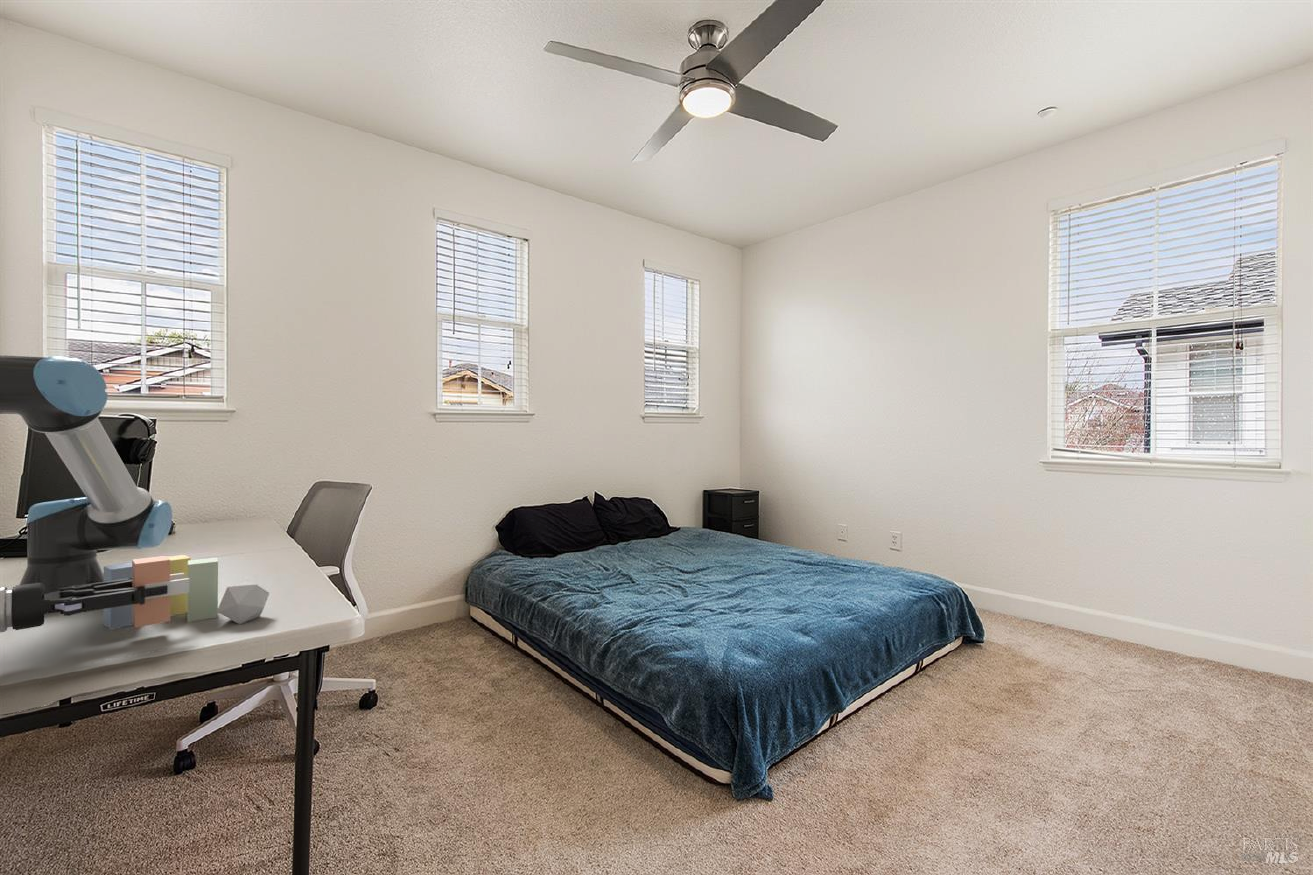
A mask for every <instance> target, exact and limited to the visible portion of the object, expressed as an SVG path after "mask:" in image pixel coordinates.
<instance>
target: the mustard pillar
mask: <svg viewBox="0 0 1313 875" xmlns="http://www.w3.org/2000/svg"><path fill="white" fill-rule="evenodd" d="M167 557H168V558H169V559H170V575H171V574H178V573H184V579H186V578H188V560H192V559H191V557H190V556H187V555H185V554H180V555H172V556H171V555H170V556H167ZM183 614H188V593H183V594H176V595H170V617H172V616H177V615H183Z"/></svg>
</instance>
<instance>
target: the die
mask: <svg viewBox="0 0 1313 875" xmlns="http://www.w3.org/2000/svg"><path fill="white" fill-rule="evenodd" d="M269 595H270V592H269V591H267V590H266V589H265V588H263V587H261V586H259V585H258V584H256V583H255V582H252V581H249V580H245V581H242V582H239V583H234V584H233V585H230V586H229V585H228V586H226V589H225V591H224V594H223V596H222V598H221V601H220V603H219V606H218V610H217V612H218V614H221V615H222V616H223V617H225V618H228V619H229V620H231V621H233V622H234V623H236V624H239V625H242V624H244V623H247V622H249V621H252V620H254V619H257V618H260V617H261V615H262V613H263V611H264V608H265V606H266V603H267V601H268V598H269Z"/></svg>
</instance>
